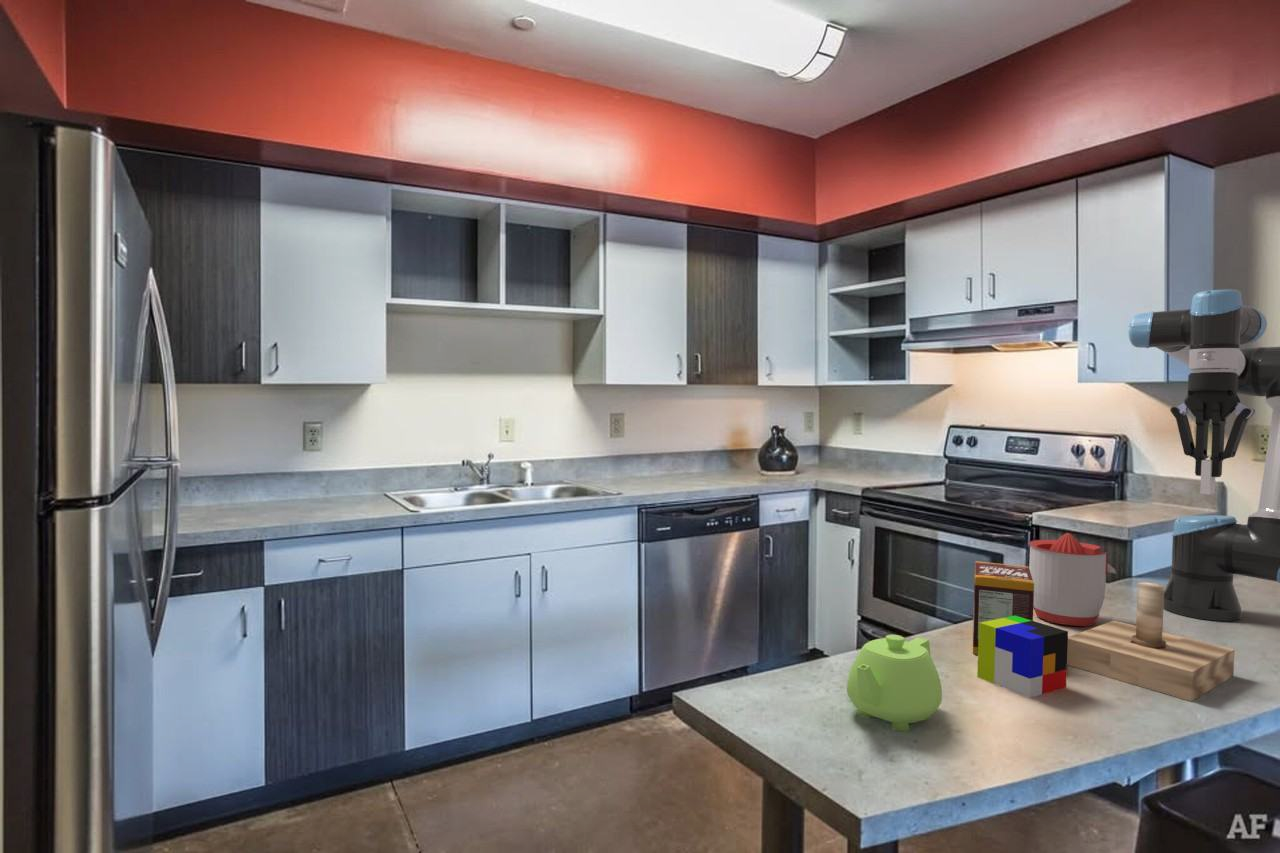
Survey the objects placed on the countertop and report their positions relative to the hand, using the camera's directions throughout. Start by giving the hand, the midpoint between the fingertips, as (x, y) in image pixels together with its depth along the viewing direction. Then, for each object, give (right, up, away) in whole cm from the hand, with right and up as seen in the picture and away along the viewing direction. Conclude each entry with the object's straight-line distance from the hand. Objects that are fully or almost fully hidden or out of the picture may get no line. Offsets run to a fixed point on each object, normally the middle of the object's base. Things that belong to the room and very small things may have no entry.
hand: (1207, 493), depth 140 cm
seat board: (-15, -32, -5) cm, 36 cm away
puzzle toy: (-42, -33, -12) cm, 55 cm away
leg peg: (-15, -32, -5) cm, 36 cm away
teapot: (-70, -33, -26) cm, 82 cm away
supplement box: (-37, -32, +7) cm, 49 cm away
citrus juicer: (-12, -32, +25) cm, 42 cm away
